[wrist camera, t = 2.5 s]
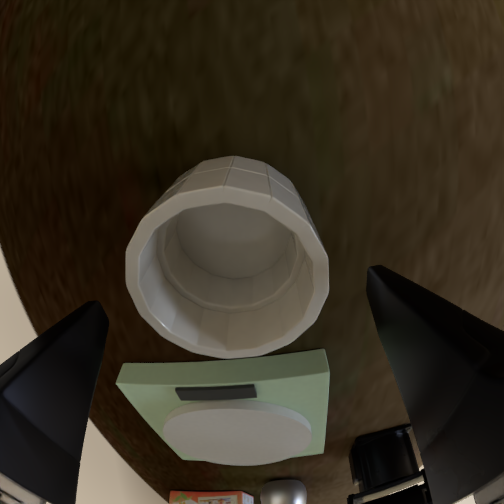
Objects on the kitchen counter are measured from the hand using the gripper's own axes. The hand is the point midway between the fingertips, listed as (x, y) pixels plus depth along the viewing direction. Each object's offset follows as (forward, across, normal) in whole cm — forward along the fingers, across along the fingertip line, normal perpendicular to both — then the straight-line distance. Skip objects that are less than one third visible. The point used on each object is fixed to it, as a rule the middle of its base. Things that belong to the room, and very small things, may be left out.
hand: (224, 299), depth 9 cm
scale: (+5, +3, +16) cm, 17 cm away
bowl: (+5, 0, 0) cm, 5 cm away
